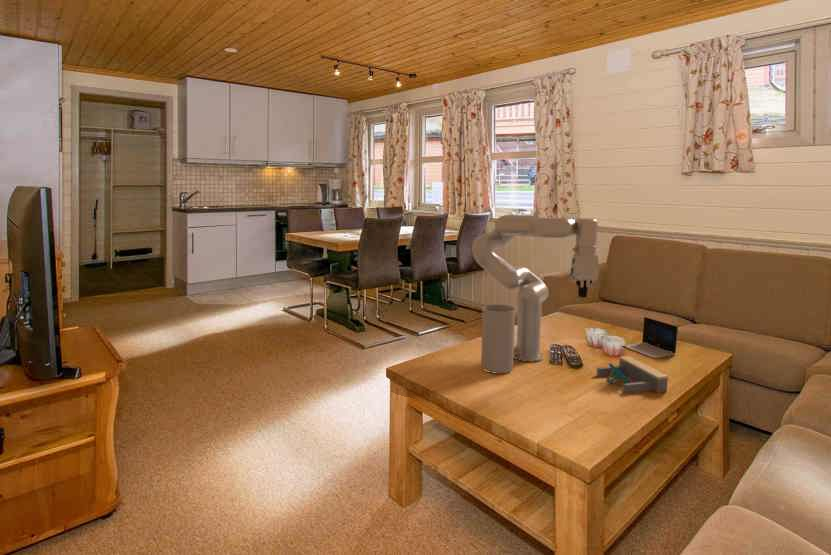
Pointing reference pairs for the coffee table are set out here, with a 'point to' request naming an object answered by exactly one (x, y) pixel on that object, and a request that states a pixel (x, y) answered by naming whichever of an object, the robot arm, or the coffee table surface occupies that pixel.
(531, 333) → the robot arm
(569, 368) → the coffee table surface
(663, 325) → the laptop
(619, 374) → the gear
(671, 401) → the coffee table surface
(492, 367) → the cylinder vase
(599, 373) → the gear bay
